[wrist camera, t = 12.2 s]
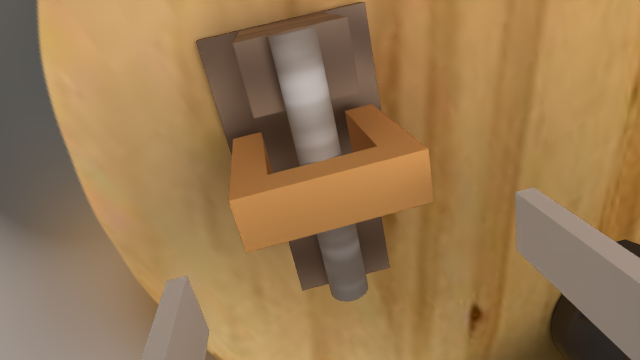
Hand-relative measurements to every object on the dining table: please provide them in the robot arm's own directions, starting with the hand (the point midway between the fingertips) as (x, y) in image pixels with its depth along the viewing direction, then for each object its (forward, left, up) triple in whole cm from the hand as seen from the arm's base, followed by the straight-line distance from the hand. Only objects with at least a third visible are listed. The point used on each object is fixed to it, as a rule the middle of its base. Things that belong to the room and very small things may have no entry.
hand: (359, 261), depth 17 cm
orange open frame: (0, 0, -15) cm, 15 cm away
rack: (0, 0, -19) cm, 19 cm away
